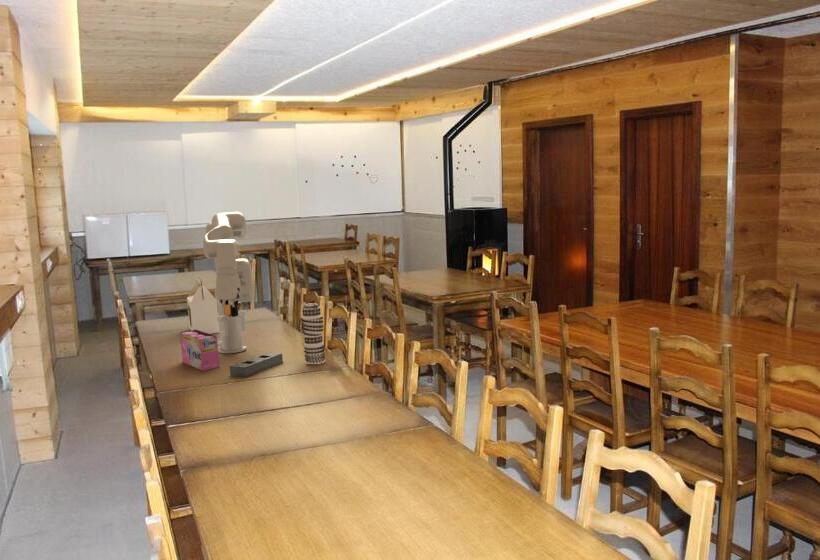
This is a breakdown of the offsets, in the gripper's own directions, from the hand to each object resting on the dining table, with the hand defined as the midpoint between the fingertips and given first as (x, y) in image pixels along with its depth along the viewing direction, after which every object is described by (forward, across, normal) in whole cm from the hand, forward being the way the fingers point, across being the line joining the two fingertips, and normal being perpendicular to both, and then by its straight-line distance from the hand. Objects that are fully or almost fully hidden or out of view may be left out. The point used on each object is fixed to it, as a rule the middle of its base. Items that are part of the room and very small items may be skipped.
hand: (231, 315), depth 307 cm
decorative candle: (+23, +24, +22) cm, 40 cm away
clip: (+7, 0, 0) cm, 7 cm away
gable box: (+24, -78, +60) cm, 102 cm away
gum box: (+24, -24, +3) cm, 33 cm away
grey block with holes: (+23, +7, +5) cm, 25 cm away
